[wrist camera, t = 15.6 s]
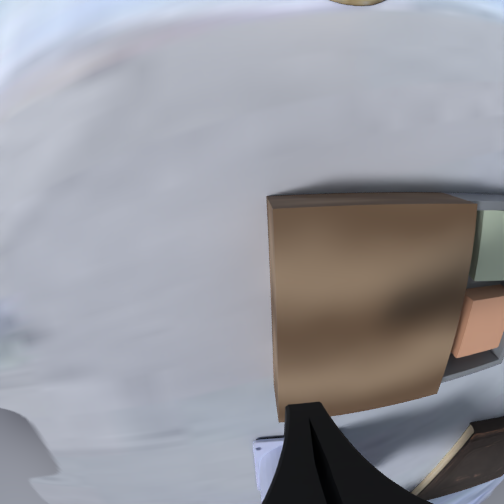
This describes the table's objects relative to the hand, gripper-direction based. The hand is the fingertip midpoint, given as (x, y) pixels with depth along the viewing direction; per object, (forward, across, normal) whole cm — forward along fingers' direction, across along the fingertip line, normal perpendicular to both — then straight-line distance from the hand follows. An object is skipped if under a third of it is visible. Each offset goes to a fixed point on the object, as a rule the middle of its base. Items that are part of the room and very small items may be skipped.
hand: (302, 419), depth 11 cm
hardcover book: (+11, -32, +29) cm, 45 cm away
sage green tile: (+7, -16, -4) cm, 18 cm away
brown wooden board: (+10, -6, 0) cm, 12 cm away
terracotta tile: (+8, -16, +2) cm, 18 cm away
